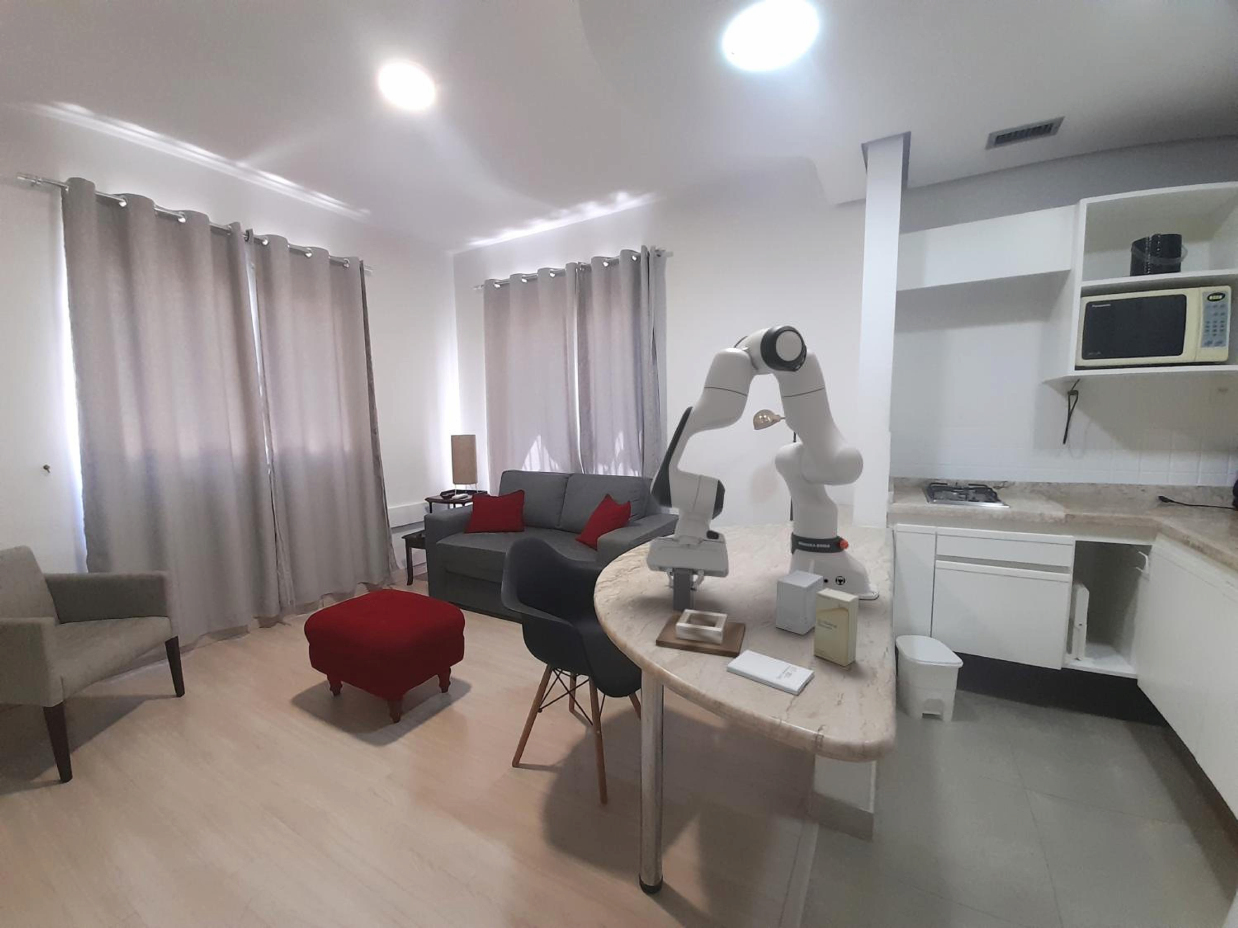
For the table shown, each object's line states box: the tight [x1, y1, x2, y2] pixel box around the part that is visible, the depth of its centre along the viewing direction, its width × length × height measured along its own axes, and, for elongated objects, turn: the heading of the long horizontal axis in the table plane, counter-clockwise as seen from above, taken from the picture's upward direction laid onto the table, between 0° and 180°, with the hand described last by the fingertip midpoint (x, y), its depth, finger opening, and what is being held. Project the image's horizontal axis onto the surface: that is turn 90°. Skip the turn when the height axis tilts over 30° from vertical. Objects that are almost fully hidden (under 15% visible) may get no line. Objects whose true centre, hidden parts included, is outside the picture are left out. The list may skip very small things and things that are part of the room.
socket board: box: [655, 609, 746, 658], centre depth 97 cm, size 16×14×4 cm
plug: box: [672, 568, 694, 612], centre depth 113 cm, size 4×4×9 cm
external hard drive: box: [726, 649, 815, 696], centre depth 83 cm, size 2×8×12 cm
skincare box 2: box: [813, 588, 860, 667], centre depth 88 cm, size 6×4×12 cm
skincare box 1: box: [774, 570, 823, 636], centre depth 103 cm, size 10×6×10 cm, turn 137°
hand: (682, 588), depth 112 cm, fingers closed on plug, 4 cm apart
